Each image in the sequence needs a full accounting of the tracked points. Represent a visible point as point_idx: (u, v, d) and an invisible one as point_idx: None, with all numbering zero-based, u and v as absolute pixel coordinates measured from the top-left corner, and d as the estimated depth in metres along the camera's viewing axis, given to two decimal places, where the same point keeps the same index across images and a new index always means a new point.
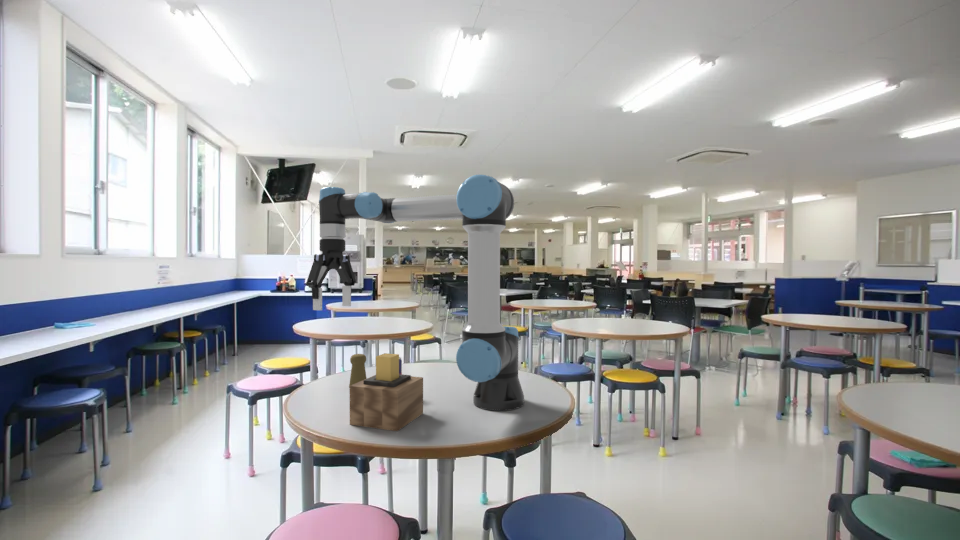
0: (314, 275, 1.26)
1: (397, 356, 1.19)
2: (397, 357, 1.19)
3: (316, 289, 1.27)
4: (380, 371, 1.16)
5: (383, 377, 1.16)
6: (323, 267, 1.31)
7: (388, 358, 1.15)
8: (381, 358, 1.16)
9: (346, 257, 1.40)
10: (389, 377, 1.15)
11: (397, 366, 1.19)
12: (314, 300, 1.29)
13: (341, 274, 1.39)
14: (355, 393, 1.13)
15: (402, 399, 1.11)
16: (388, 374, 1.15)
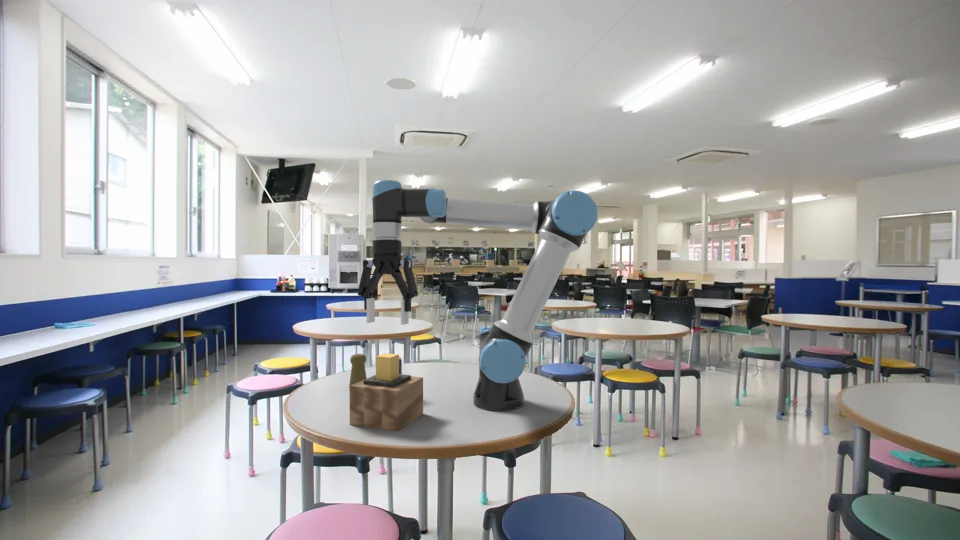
0: None
1: (397, 356, 1.19)
2: (397, 357, 1.19)
3: (365, 299, 1.19)
4: (380, 371, 1.16)
5: (383, 377, 1.16)
6: None
7: (388, 358, 1.15)
8: (381, 358, 1.16)
9: None
10: (389, 377, 1.15)
11: (397, 366, 1.19)
12: None
13: None
14: (355, 393, 1.13)
15: (402, 399, 1.11)
16: (388, 374, 1.15)
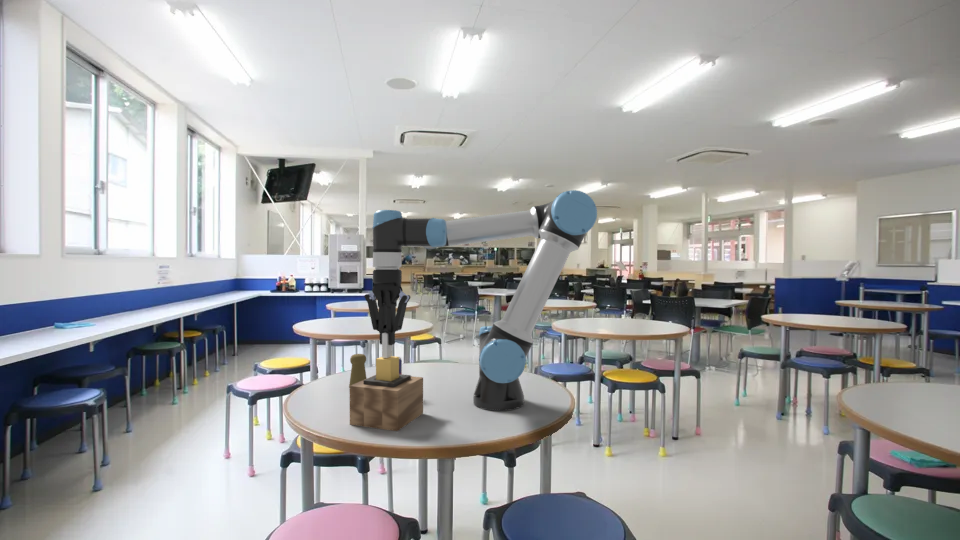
0: None
1: (397, 358, 1.19)
2: (397, 359, 1.19)
3: (380, 334, 1.18)
4: (380, 373, 1.16)
5: (383, 379, 1.16)
6: None
7: (388, 360, 1.15)
8: (381, 360, 1.16)
9: None
10: (389, 379, 1.15)
11: (397, 368, 1.19)
12: None
13: None
14: (355, 393, 1.13)
15: (402, 399, 1.11)
16: (388, 376, 1.15)
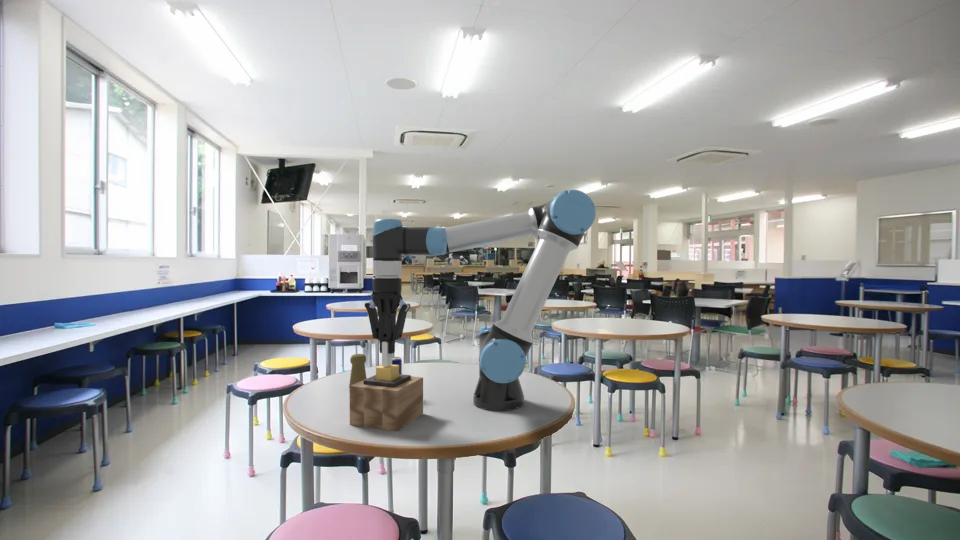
0: None
1: (397, 367, 1.19)
2: (397, 368, 1.19)
3: (380, 342, 1.18)
4: None
5: None
6: None
7: (388, 369, 1.15)
8: (381, 369, 1.16)
9: None
10: None
11: (397, 377, 1.19)
12: None
13: None
14: (355, 393, 1.13)
15: (402, 399, 1.11)
16: None
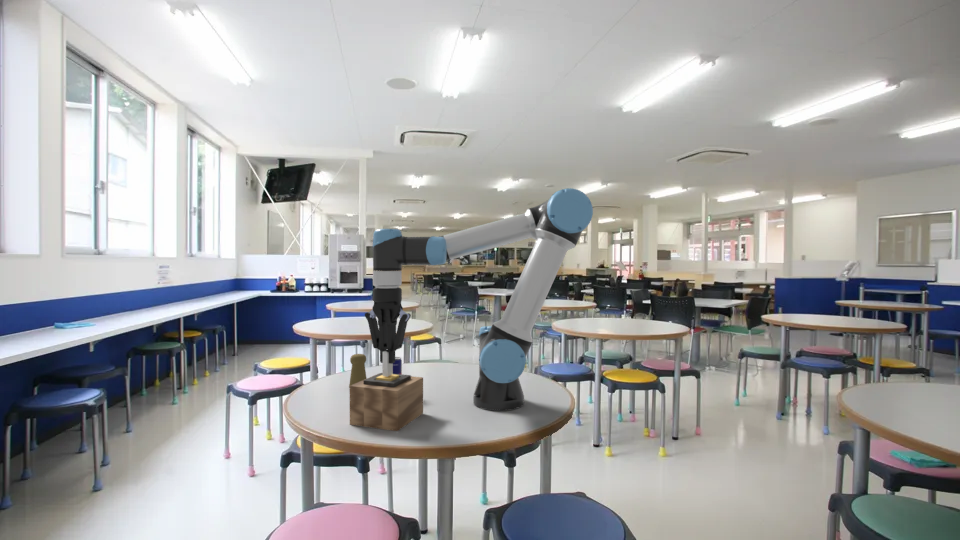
0: None
1: (397, 377, 1.19)
2: None
3: (380, 352, 1.18)
4: None
5: None
6: None
7: (388, 379, 1.15)
8: (381, 379, 1.16)
9: None
10: None
11: None
12: None
13: None
14: (355, 393, 1.13)
15: (402, 399, 1.11)
16: None
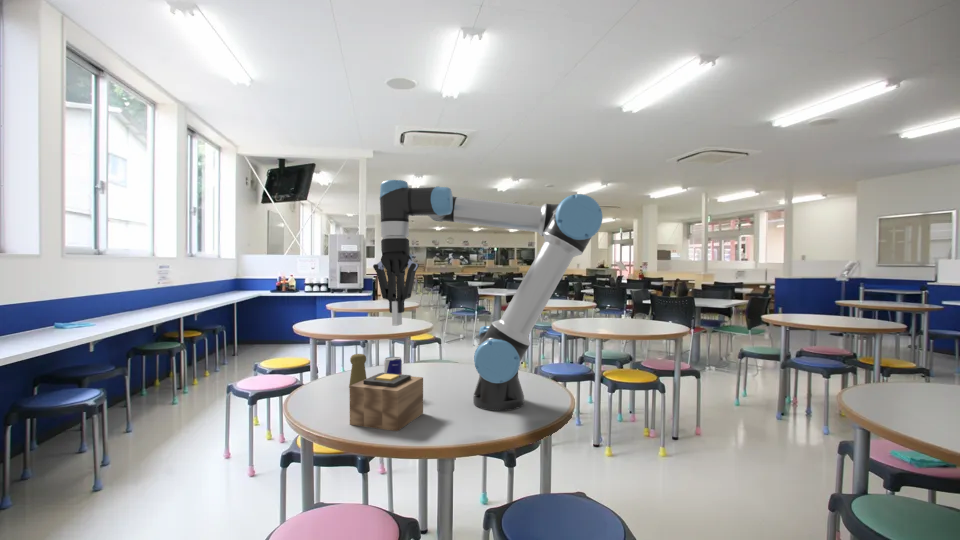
0: None
1: (397, 377, 1.19)
2: None
3: (390, 302, 1.20)
4: None
5: None
6: None
7: (388, 379, 1.15)
8: (381, 379, 1.16)
9: None
10: None
11: None
12: None
13: None
14: (355, 393, 1.13)
15: (402, 399, 1.11)
16: None
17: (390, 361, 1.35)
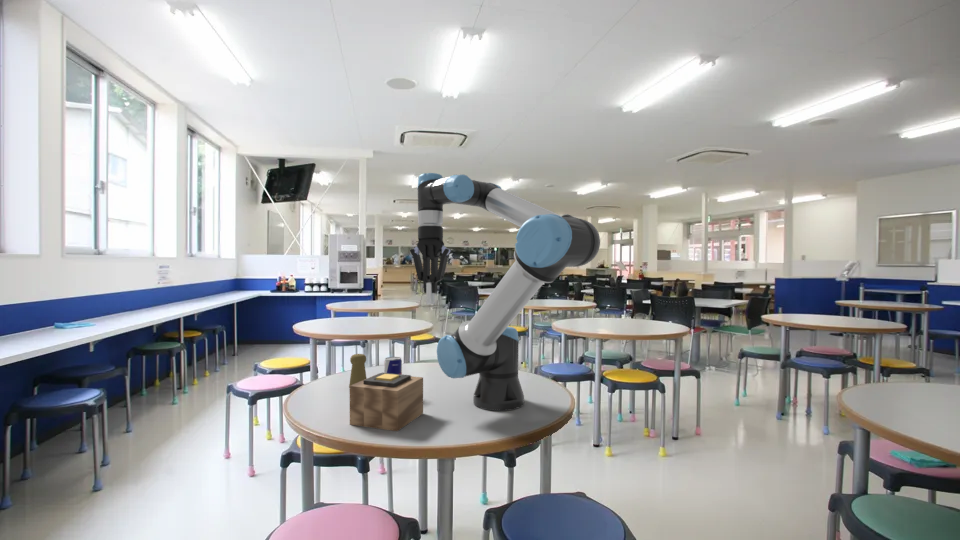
0: None
1: (397, 377, 1.19)
2: None
3: (424, 283, 1.33)
4: None
5: None
6: None
7: (388, 379, 1.15)
8: (381, 379, 1.16)
9: None
10: None
11: None
12: None
13: None
14: (355, 393, 1.13)
15: (402, 399, 1.11)
16: None
17: (390, 361, 1.35)
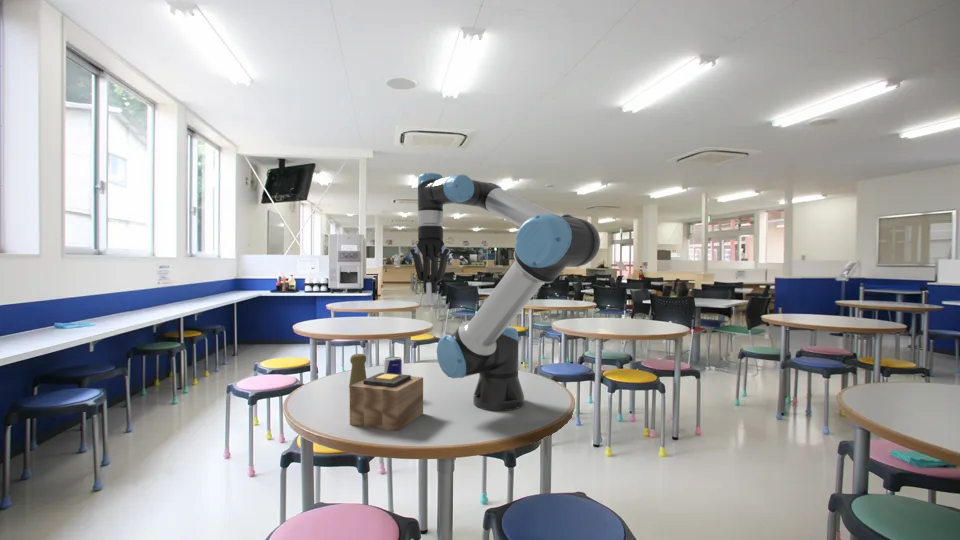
0: None
1: (397, 377, 1.19)
2: None
3: (424, 283, 1.33)
4: None
5: None
6: None
7: (388, 379, 1.15)
8: (381, 379, 1.16)
9: None
10: None
11: None
12: None
13: None
14: (355, 393, 1.13)
15: (402, 399, 1.11)
16: None
17: (390, 361, 1.35)
